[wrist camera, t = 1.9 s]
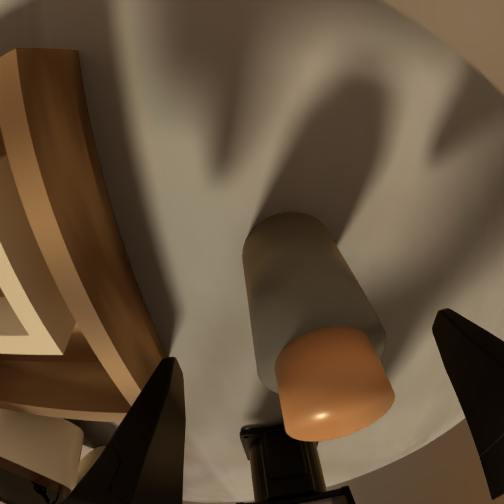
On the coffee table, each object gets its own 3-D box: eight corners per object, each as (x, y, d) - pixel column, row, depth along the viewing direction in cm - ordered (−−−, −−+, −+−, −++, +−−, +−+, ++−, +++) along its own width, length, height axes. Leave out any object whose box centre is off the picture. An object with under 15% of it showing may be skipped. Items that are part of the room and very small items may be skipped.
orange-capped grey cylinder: (329, 283, 15) (391, 428, 8) (247, 295, 15) (270, 456, 8) (332, 207, 13) (430, 353, 6) (236, 218, 13) (258, 392, 6)
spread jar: (3, 366, 17) (-40, 495, 7) (135, 418, 21) (125, 557, 11) (17, 423, 22) (-5, 515, 12) (114, 459, 26) (107, 553, 16)
